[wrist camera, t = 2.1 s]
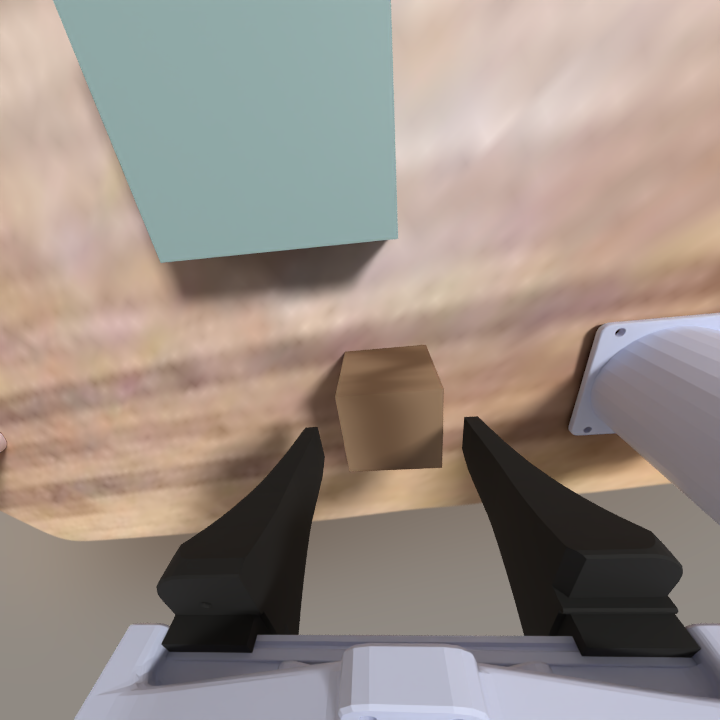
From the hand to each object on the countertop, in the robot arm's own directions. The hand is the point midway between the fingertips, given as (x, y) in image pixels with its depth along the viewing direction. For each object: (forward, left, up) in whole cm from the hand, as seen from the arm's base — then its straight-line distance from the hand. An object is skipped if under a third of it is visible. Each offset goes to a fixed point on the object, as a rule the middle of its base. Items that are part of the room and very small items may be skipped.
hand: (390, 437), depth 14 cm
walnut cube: (0, 0, -5) cm, 5 cm away
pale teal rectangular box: (+4, -14, -6) cm, 16 cm away
